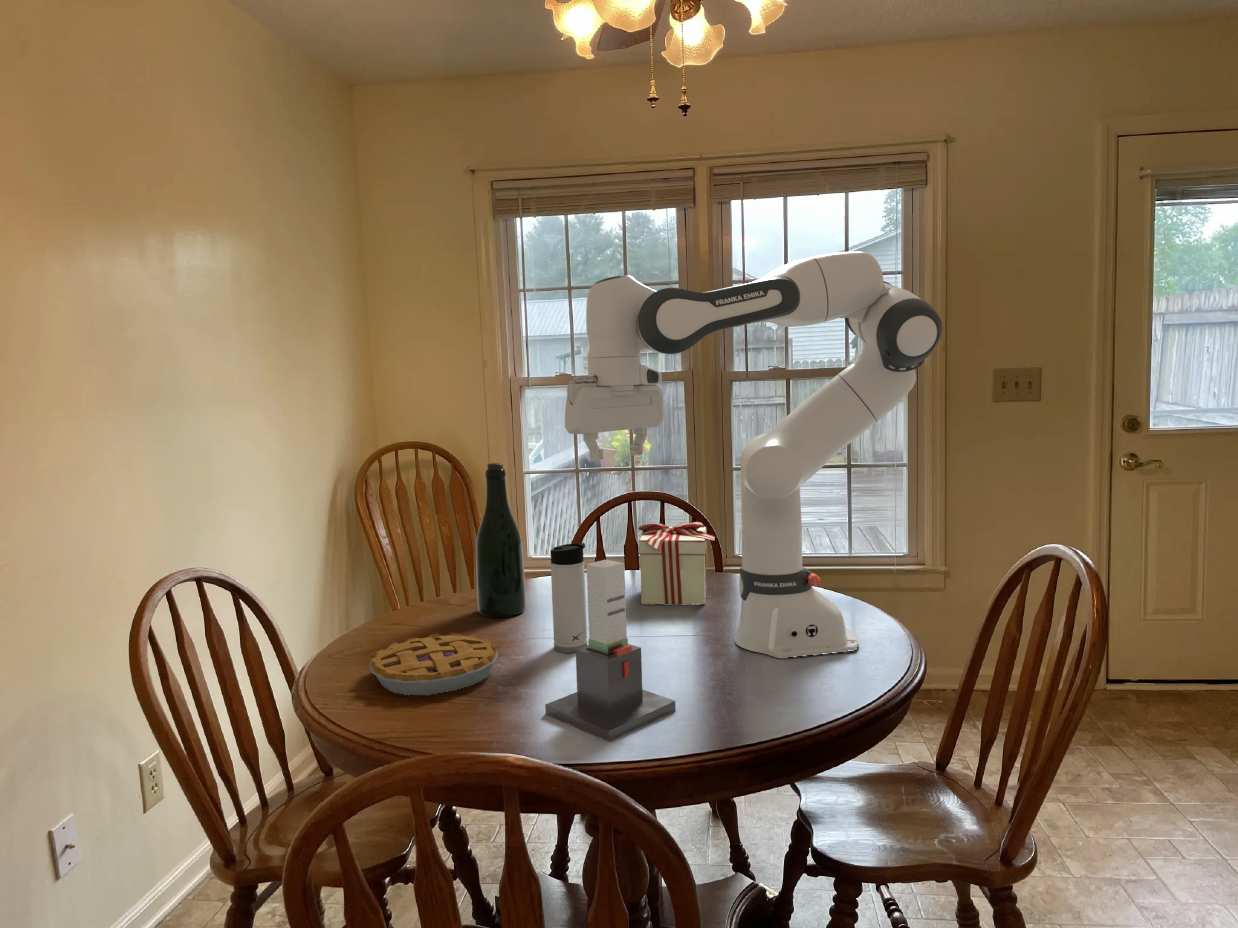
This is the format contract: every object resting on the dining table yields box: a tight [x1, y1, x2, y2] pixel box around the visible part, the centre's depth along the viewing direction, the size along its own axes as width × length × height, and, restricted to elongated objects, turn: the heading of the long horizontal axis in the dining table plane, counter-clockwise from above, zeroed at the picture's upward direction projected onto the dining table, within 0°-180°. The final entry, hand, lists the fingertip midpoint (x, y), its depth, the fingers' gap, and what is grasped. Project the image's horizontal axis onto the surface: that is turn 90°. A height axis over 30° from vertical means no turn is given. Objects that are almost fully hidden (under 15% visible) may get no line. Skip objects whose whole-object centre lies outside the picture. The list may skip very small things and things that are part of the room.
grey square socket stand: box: [544, 643, 677, 742], centre depth 123 cm, size 14×14×11 cm
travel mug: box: [549, 542, 588, 654], centre depth 153 cm, size 6×7×20 cm
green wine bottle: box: [475, 462, 527, 619], centre depth 177 cm, size 10×10×33 cm
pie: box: [369, 632, 499, 697], centre depth 142 cm, size 22×22×5 cm
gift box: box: [637, 521, 716, 606], centre depth 184 cm, size 17×18×17 cm
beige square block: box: [585, 559, 629, 657], centre depth 122 cm, size 4×4×17 cm
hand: (617, 457), depth 138 cm, fingers open, 8 cm apart
